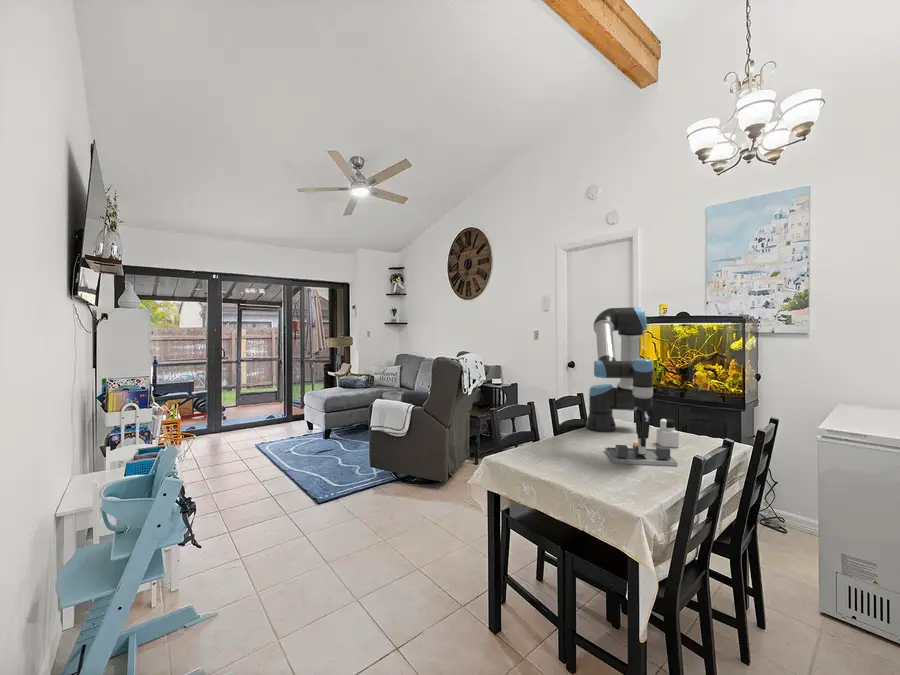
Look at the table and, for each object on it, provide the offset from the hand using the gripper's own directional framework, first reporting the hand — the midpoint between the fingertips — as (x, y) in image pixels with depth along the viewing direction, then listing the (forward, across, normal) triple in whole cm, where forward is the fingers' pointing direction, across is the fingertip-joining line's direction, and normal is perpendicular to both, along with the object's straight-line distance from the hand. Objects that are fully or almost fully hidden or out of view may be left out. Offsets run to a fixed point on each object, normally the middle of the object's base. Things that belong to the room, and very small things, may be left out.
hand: (642, 453), depth 167 cm
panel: (+3, -4, 0) cm, 5 cm away
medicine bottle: (+4, -24, +18) cm, 30 cm away
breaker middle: (+1, -4, 0) cm, 4 cm away
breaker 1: (+1, 0, -8) cm, 8 cm away
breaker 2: (+1, 0, +8) cm, 8 cm away
